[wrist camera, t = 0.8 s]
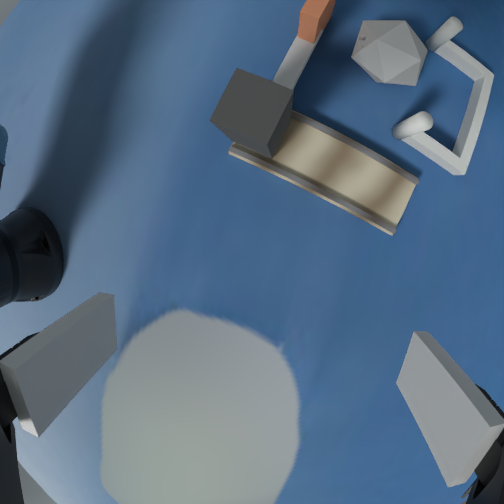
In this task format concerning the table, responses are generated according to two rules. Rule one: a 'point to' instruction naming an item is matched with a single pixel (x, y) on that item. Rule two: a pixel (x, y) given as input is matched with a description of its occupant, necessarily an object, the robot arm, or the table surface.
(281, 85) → the rod
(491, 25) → the table surface
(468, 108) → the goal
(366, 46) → the die
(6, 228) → the robot arm
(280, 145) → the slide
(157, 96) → the table surface
